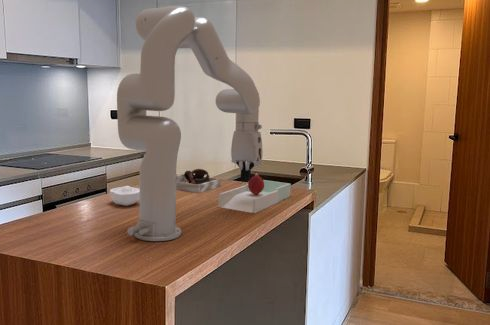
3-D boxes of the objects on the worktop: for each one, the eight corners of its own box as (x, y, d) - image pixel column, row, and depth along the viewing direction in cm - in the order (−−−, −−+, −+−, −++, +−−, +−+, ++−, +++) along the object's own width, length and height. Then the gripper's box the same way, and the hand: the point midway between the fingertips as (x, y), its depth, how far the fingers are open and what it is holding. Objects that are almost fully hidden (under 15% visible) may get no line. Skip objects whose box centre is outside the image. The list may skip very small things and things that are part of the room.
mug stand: (198, 193, 177) (198, 185, 176) (158, 186, 186) (159, 179, 185) (221, 186, 192) (221, 179, 191) (183, 180, 200) (184, 173, 200)
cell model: (137, 199, 163) (137, 180, 162) (143, 207, 152) (144, 187, 151) (107, 201, 159) (107, 181, 158) (112, 209, 148) (112, 189, 147)
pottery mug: (213, 186, 194) (214, 171, 189) (202, 199, 187) (203, 184, 182) (189, 176, 197) (189, 161, 192) (177, 189, 190) (177, 174, 185)
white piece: (254, 216, 150) (255, 199, 150) (218, 209, 157) (218, 193, 156) (277, 205, 166) (278, 190, 165) (243, 199, 173) (244, 185, 172)
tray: (276, 202, 166) (277, 188, 165) (244, 197, 172) (245, 184, 172) (290, 196, 177) (290, 183, 176) (260, 191, 183) (260, 179, 182)
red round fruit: (262, 197, 162) (263, 175, 161) (246, 196, 163) (247, 174, 162) (264, 194, 168) (265, 172, 166) (249, 193, 169) (250, 171, 168)
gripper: (272, 128, 154) (270, 181, 157) (233, 125, 161) (232, 176, 164) (261, 129, 147) (260, 185, 150) (221, 126, 154) (221, 180, 157)
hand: (245, 181), depth 157 cm, fingers closed
